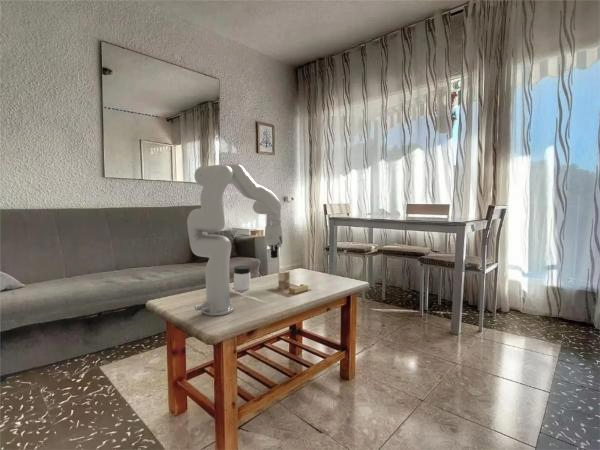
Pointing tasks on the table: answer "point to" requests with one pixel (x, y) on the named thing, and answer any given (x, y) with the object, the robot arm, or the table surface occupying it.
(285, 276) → the tan block
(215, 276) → the robot arm
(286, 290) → the board
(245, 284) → the jar
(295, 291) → the clip
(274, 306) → the table surface
